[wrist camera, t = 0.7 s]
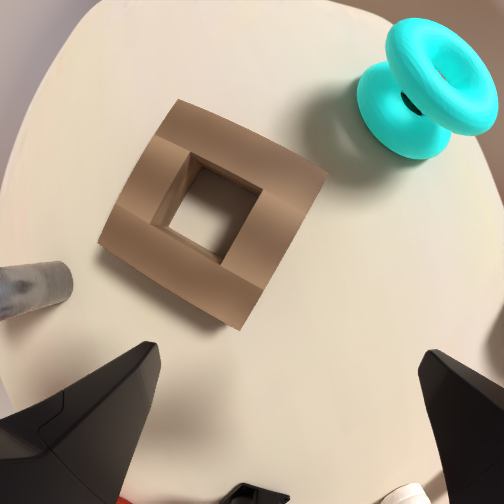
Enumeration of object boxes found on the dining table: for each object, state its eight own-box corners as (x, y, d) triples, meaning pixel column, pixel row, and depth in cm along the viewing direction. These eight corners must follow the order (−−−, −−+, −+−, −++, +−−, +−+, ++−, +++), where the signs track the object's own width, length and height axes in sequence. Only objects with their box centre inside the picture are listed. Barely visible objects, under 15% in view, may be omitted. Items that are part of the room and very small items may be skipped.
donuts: (520, 120, 11) (452, 140, 11) (455, 149, 21) (384, 176, 21) (454, 15, 11) (365, 9, 11) (409, 67, 21) (333, 80, 21)
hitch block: (243, 315, 22) (239, 331, 18) (121, 242, 22) (97, 242, 18) (317, 184, 22) (329, 172, 18) (190, 120, 22) (178, 98, 18)
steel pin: (66, 309, 23) (-32, 344, 10) (42, 287, 23) (-54, 308, 10) (77, 274, 22) (-31, 295, 9) (52, 253, 22) (-51, 261, 9)
